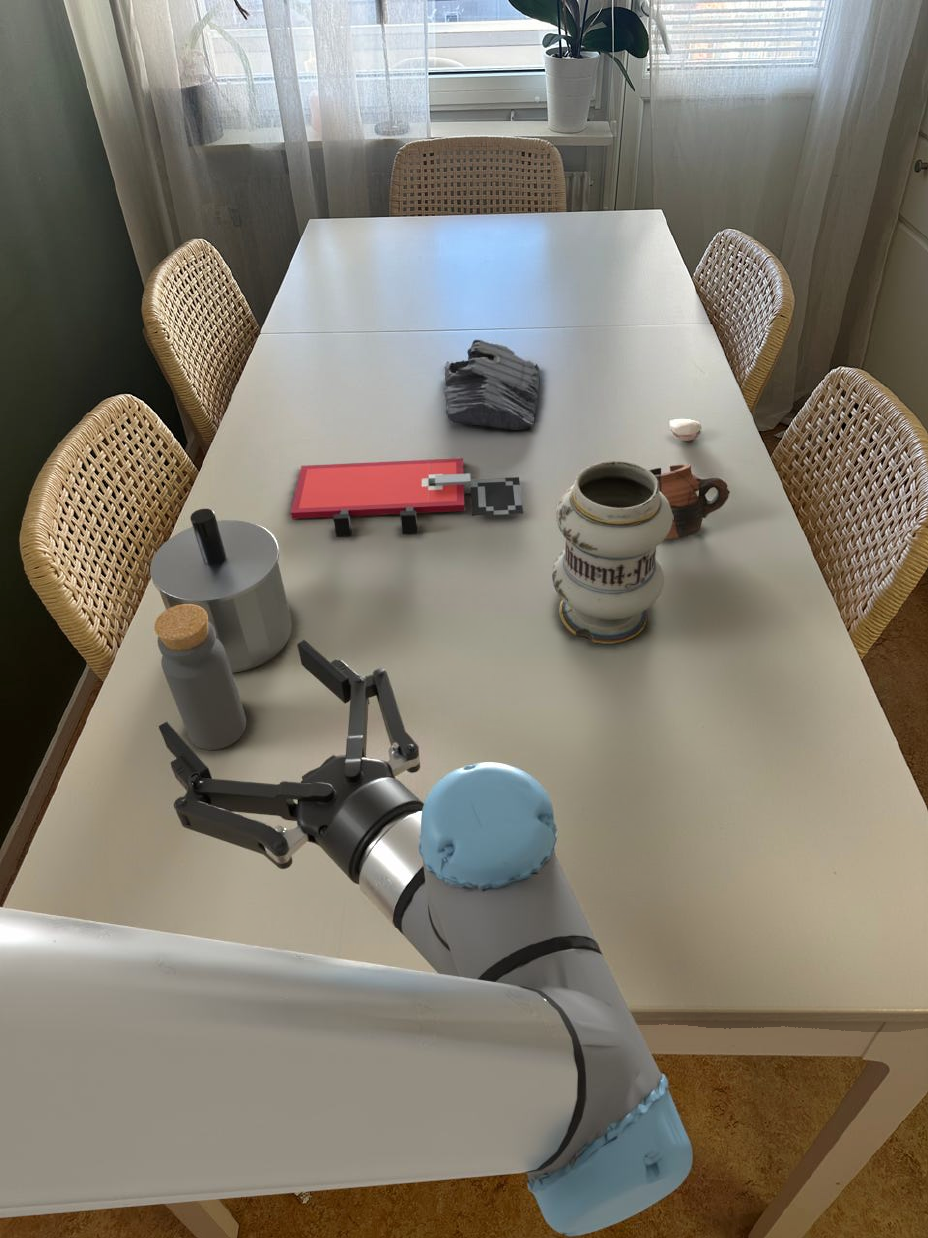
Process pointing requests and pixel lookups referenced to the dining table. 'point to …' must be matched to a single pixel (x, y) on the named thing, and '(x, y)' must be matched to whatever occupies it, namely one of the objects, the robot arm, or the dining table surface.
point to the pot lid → (214, 560)
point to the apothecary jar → (610, 550)
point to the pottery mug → (689, 498)
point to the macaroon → (685, 429)
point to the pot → (250, 623)
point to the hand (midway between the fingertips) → (237, 691)
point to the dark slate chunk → (492, 388)
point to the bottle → (200, 677)
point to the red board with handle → (399, 491)
